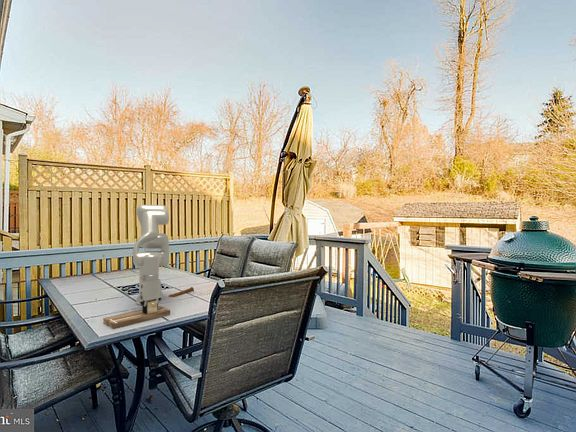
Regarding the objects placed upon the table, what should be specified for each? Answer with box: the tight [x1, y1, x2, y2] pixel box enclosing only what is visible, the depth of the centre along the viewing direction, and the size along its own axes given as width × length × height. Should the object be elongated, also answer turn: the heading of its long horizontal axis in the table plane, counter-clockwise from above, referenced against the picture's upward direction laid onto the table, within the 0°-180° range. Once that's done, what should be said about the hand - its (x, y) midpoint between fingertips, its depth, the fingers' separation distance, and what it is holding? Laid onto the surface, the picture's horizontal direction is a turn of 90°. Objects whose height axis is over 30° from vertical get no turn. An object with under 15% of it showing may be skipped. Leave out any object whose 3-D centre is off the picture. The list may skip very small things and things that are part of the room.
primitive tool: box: [167, 286, 195, 298], centre depth 215 cm, size 19×6×4 cm, turn 151°
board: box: [102, 305, 171, 330], centre depth 163 cm, size 12×29×3 cm, turn 141°
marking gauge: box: [146, 300, 157, 314], centre depth 166 cm, size 8×5×6 cm, turn 51°
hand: (150, 311), depth 166 cm, fingers closed on marking gauge, 5 cm apart
